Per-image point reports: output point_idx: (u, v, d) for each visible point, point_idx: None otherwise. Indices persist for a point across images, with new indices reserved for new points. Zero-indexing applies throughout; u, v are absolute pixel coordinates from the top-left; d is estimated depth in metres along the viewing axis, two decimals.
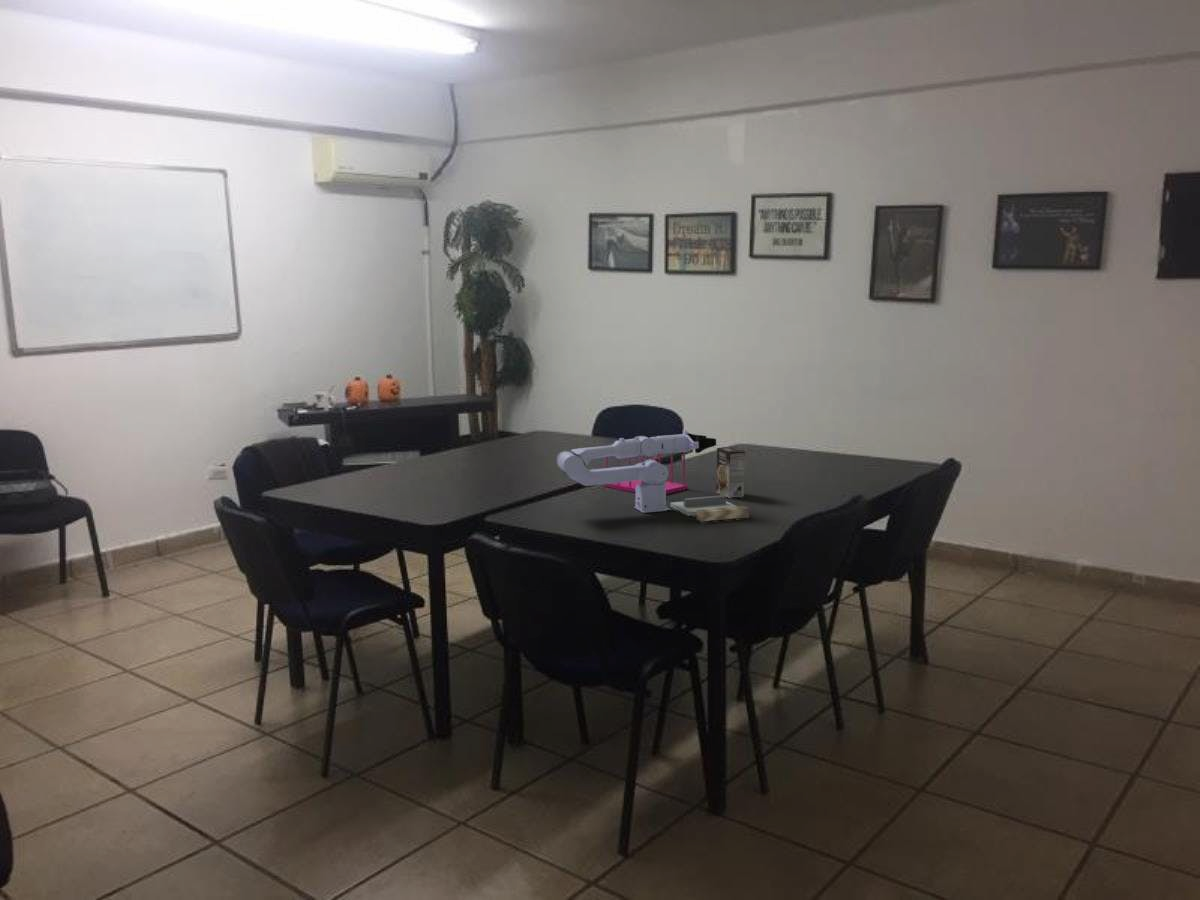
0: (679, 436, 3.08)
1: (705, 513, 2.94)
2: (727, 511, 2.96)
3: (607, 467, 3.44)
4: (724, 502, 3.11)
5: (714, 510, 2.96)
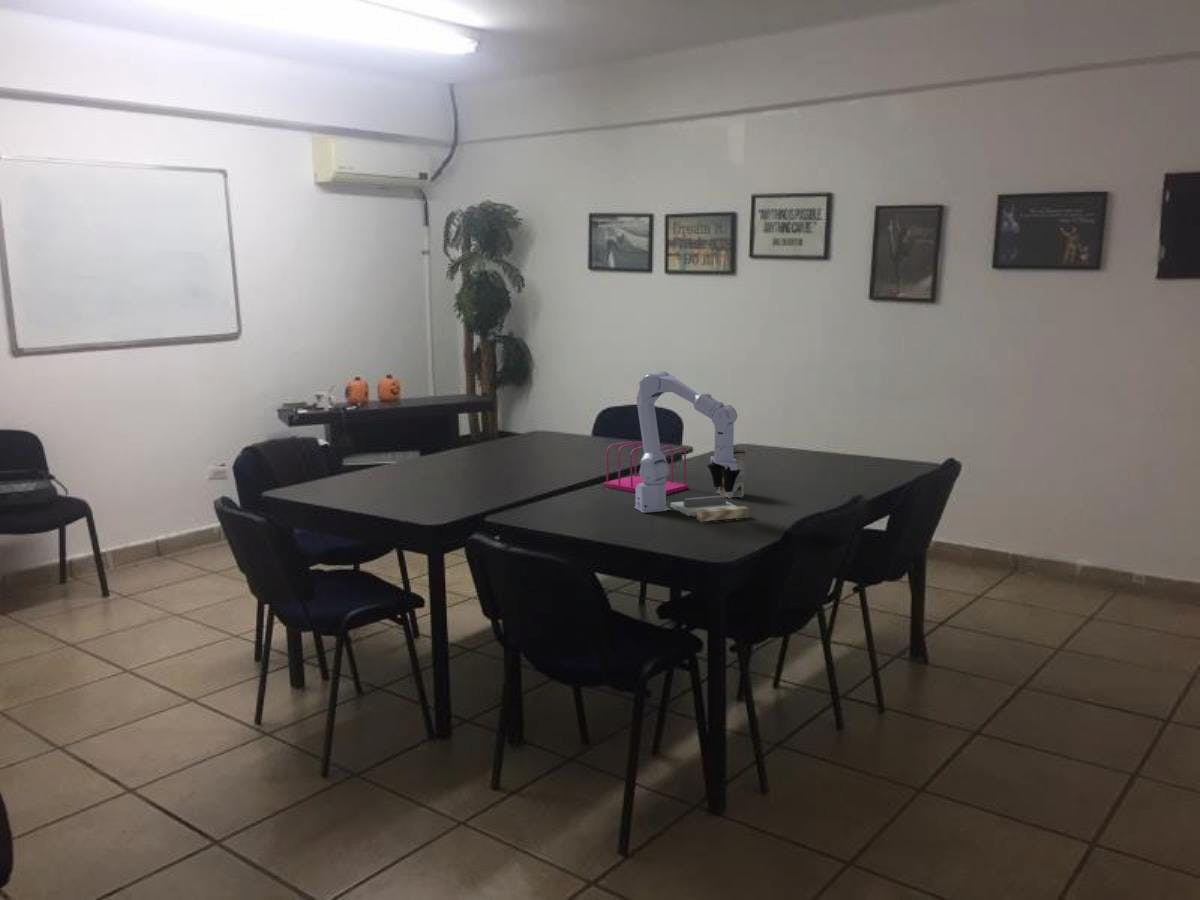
0: None
1: (705, 513, 2.94)
2: (727, 511, 2.96)
3: (607, 467, 3.43)
4: (724, 502, 3.11)
5: (714, 510, 2.96)
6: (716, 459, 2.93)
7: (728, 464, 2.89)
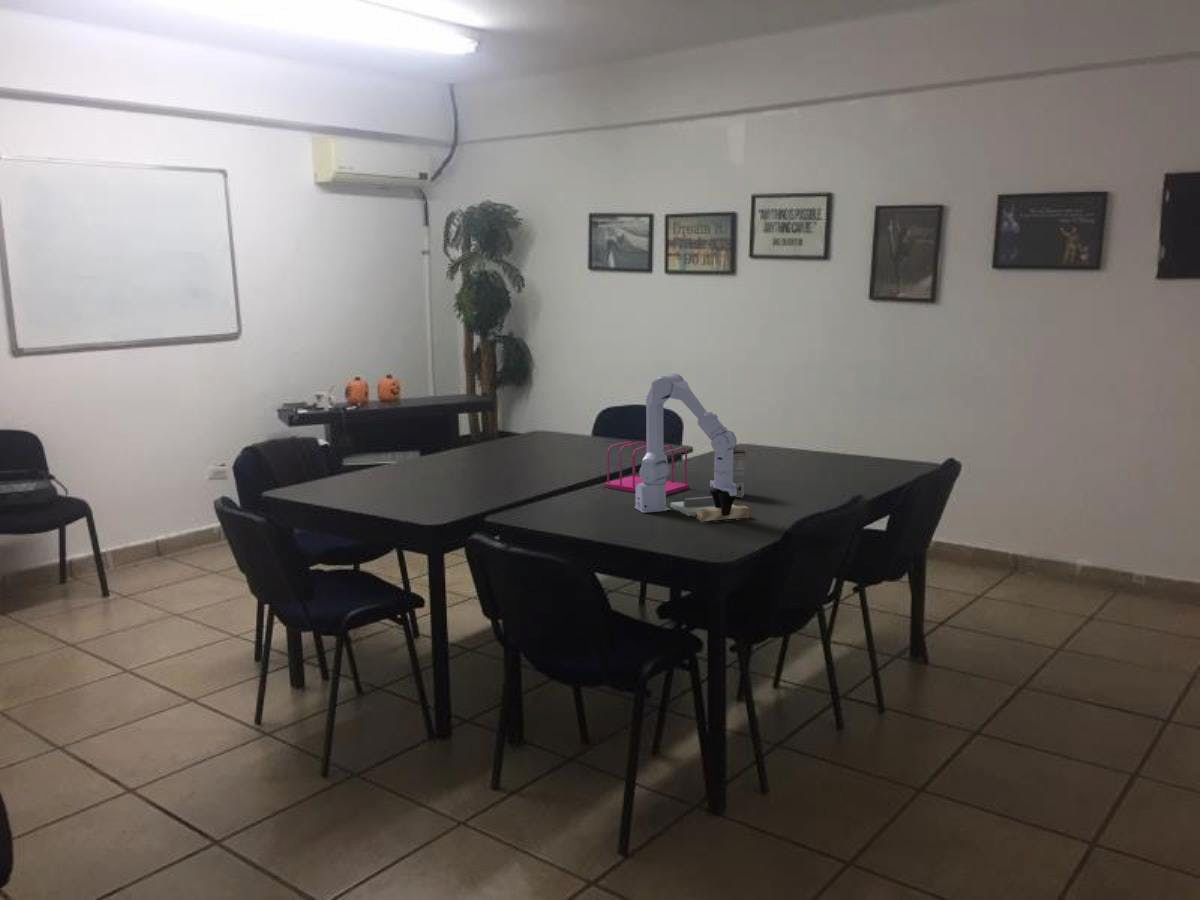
0: (732, 477, 2.95)
1: (705, 513, 2.94)
2: None
3: (608, 468, 3.42)
4: None
5: (714, 510, 2.96)
6: (716, 484, 2.94)
7: (728, 489, 2.90)
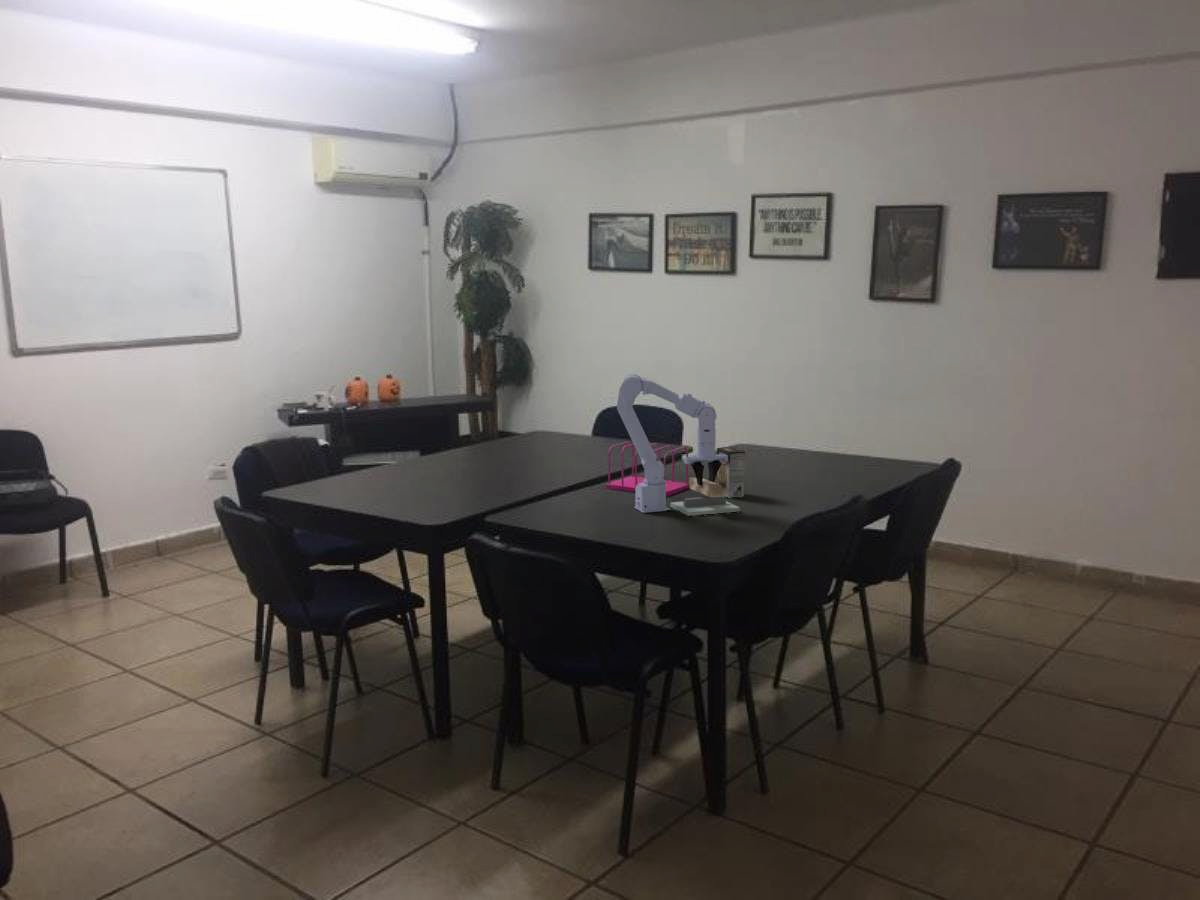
0: (705, 450, 3.03)
1: (691, 480, 3.14)
2: None
3: (609, 469, 3.41)
4: (724, 502, 3.11)
5: None
6: None
7: None
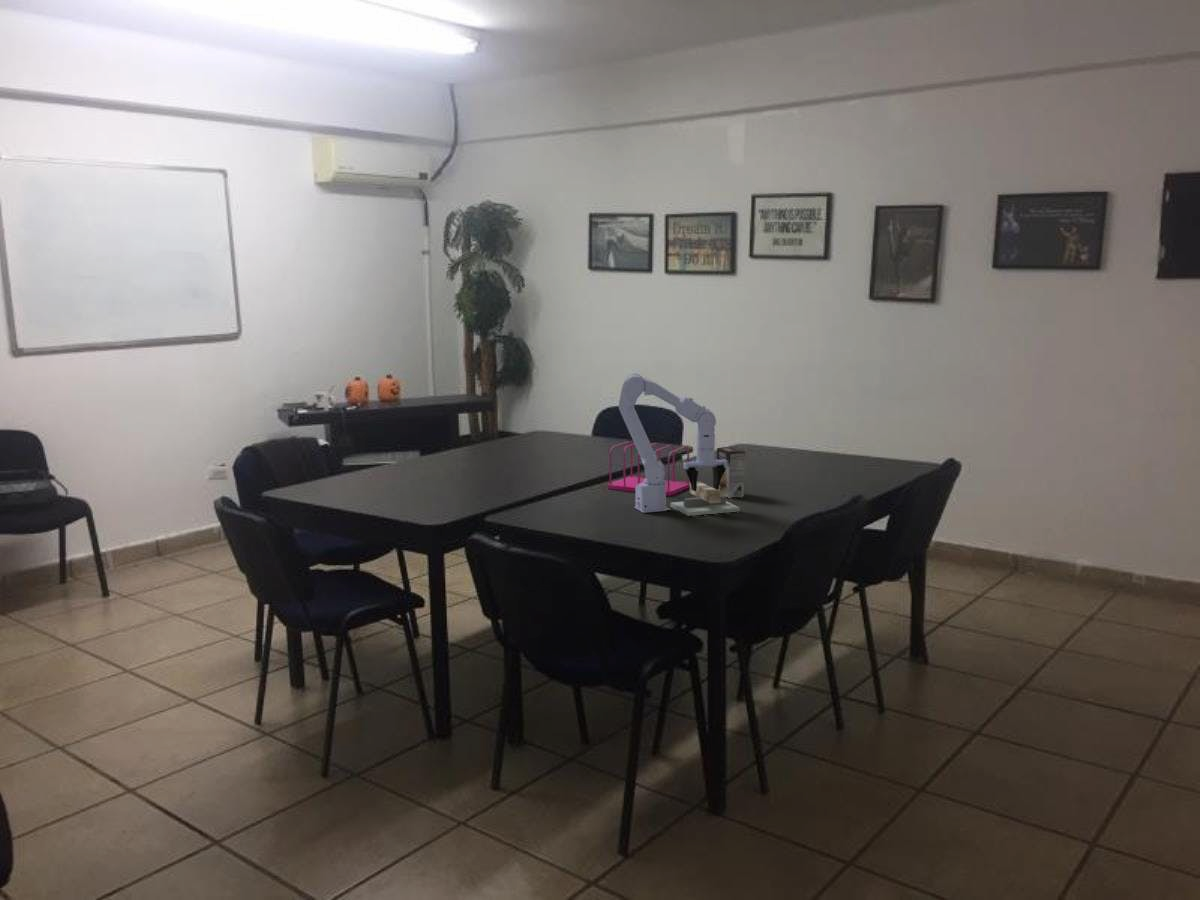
0: (704, 456, 3.04)
1: None
2: (700, 488, 3.08)
3: None
4: (724, 502, 3.11)
5: (698, 485, 3.11)
6: None
7: None
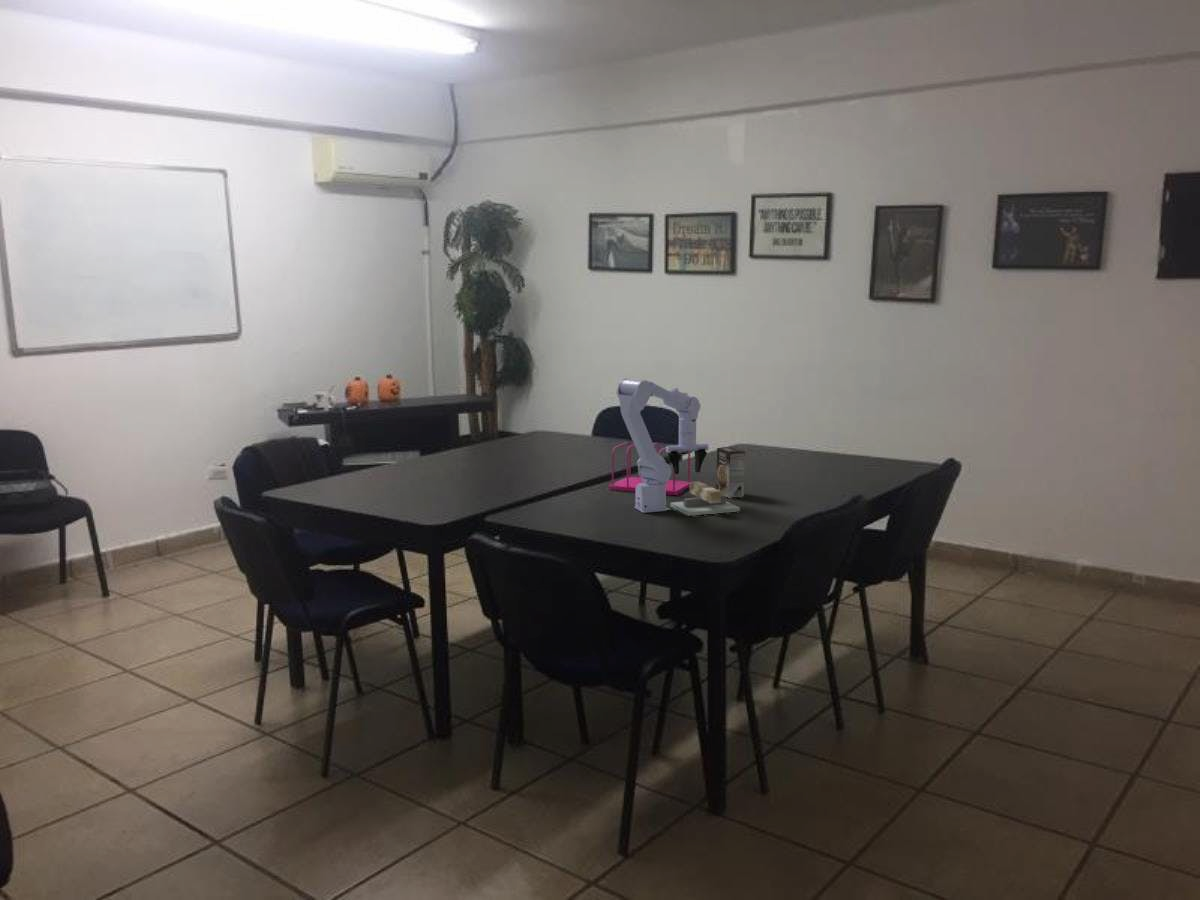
0: (686, 440, 3.14)
1: (691, 484, 3.14)
2: (700, 488, 3.08)
3: (613, 470, 3.38)
4: (724, 502, 3.11)
5: (698, 485, 3.11)
6: None
7: None
